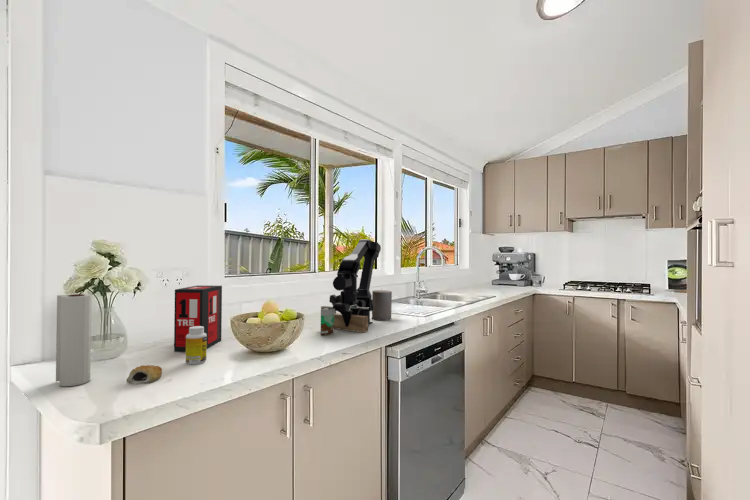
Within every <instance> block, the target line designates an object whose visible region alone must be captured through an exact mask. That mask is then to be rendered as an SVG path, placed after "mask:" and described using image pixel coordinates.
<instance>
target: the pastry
mask: <svg viewBox="0 0 750 500" xmlns="http://www.w3.org/2000/svg"><path fill="white" fill-rule="evenodd" d="M162 374H163V368H162V367H161V366H159V365H150V364H147V365H140V366H136V367H135V368H133V369H131V370H130V372H129V373H128V377H127V378H126V379H125V380H126V382H127V383H128V385H143V384H144V385H146V384H150V383H155V382H157V381H158V379H160V378H161V376H162Z"/></svg>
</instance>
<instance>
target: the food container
mask: <svg viewBox="0 0 750 500" xmlns="http://www.w3.org/2000/svg"><path fill="white" fill-rule="evenodd" d="M336 313H337V311H336V310H335V308H334V309H333V306H326V305H324V306H322V305H321V306H320V336H328V335H329V336H330V335H333V333H334V316H335V314H336Z"/></svg>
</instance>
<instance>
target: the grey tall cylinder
mask: <svg viewBox="0 0 750 500" xmlns="http://www.w3.org/2000/svg"><path fill="white" fill-rule="evenodd" d="M91 338H92V294H84V293H83V294H82V293H80V294H65V295H61V294H59V295H58V294H57V295H56V337H55V339H56V343H55V344H56V345H55V348H56V349H55V351H56V353H55V355H56V356H55V382H58V383H59V386H61V387H73V386H74V387H75V386H80V385H84V384H86V383H89V382H90V381H91V355H92V354H91V349H92V347H91V346H92V339H91Z"/></svg>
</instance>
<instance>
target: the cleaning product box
mask: <svg viewBox="0 0 750 500" xmlns="http://www.w3.org/2000/svg"><path fill="white" fill-rule="evenodd" d="M222 300H223V286H222V285H193V286H187V287H183V288H177V289H174V315H173V316H174V320H173V321H174V324H173V325H174V327H173V328H174V332H173V333H174V334H173V335H174V336H173V346H174V347H173V352H174V353H186V335H187V334H190V333H189V328H190V327H193V326H203V327H204V332H203V333H206V334H207V350H208V349H210V348H212V347H214V346H216V345H217V344H218V342H219V343H220V342H222V315H223V314H222V312H223V310H222V309H223V307H222V306H223V301H222Z"/></svg>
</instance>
